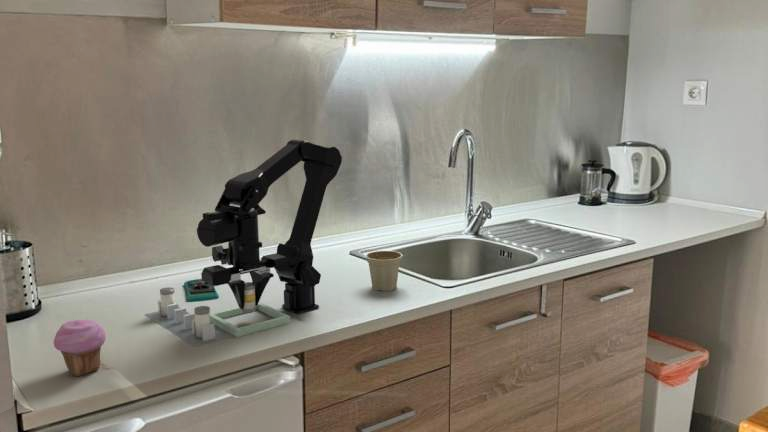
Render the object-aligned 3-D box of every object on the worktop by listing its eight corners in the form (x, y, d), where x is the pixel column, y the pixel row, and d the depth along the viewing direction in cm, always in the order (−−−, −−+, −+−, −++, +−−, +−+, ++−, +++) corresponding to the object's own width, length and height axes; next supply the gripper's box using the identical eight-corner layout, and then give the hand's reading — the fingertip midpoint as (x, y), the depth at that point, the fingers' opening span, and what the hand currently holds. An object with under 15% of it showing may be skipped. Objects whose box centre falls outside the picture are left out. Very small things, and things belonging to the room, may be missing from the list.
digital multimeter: (213, 287, 188) (212, 276, 188) (219, 305, 175) (218, 293, 174) (184, 290, 186) (183, 279, 186) (188, 308, 172) (187, 296, 172)
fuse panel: (178, 311, 169) (177, 294, 168) (230, 342, 150) (229, 322, 149) (144, 319, 164) (143, 301, 163) (194, 352, 145) (193, 332, 144)
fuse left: (172, 311, 165) (170, 286, 164) (178, 315, 163) (176, 289, 162) (159, 314, 163) (157, 289, 162) (165, 318, 161) (163, 292, 160)
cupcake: (71, 385, 131) (65, 332, 128) (49, 372, 136) (43, 321, 134) (117, 369, 137) (112, 319, 135) (94, 357, 143) (89, 309, 141)
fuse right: (207, 332, 153) (205, 304, 151) (214, 336, 150) (212, 308, 149) (193, 335, 151) (191, 308, 149) (200, 339, 148) (198, 312, 147)
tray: (259, 312, 168) (259, 301, 167) (290, 327, 158) (290, 316, 158) (208, 325, 160) (207, 314, 159) (237, 342, 150) (236, 330, 150)
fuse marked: (251, 307, 160) (250, 281, 159) (258, 310, 158) (257, 284, 157) (238, 310, 158) (237, 284, 157) (246, 314, 156) (244, 287, 155)
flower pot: (358, 288, 186) (357, 255, 184) (383, 280, 193) (383, 248, 191) (385, 295, 180) (384, 262, 178) (409, 287, 186) (410, 254, 185)
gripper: (263, 224, 167) (266, 289, 170) (187, 237, 155) (192, 307, 158) (289, 233, 158) (292, 301, 162) (212, 247, 147) (216, 320, 150)
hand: (248, 306), depth 158 cm, fingers closed on fuse marked, 3 cm apart
